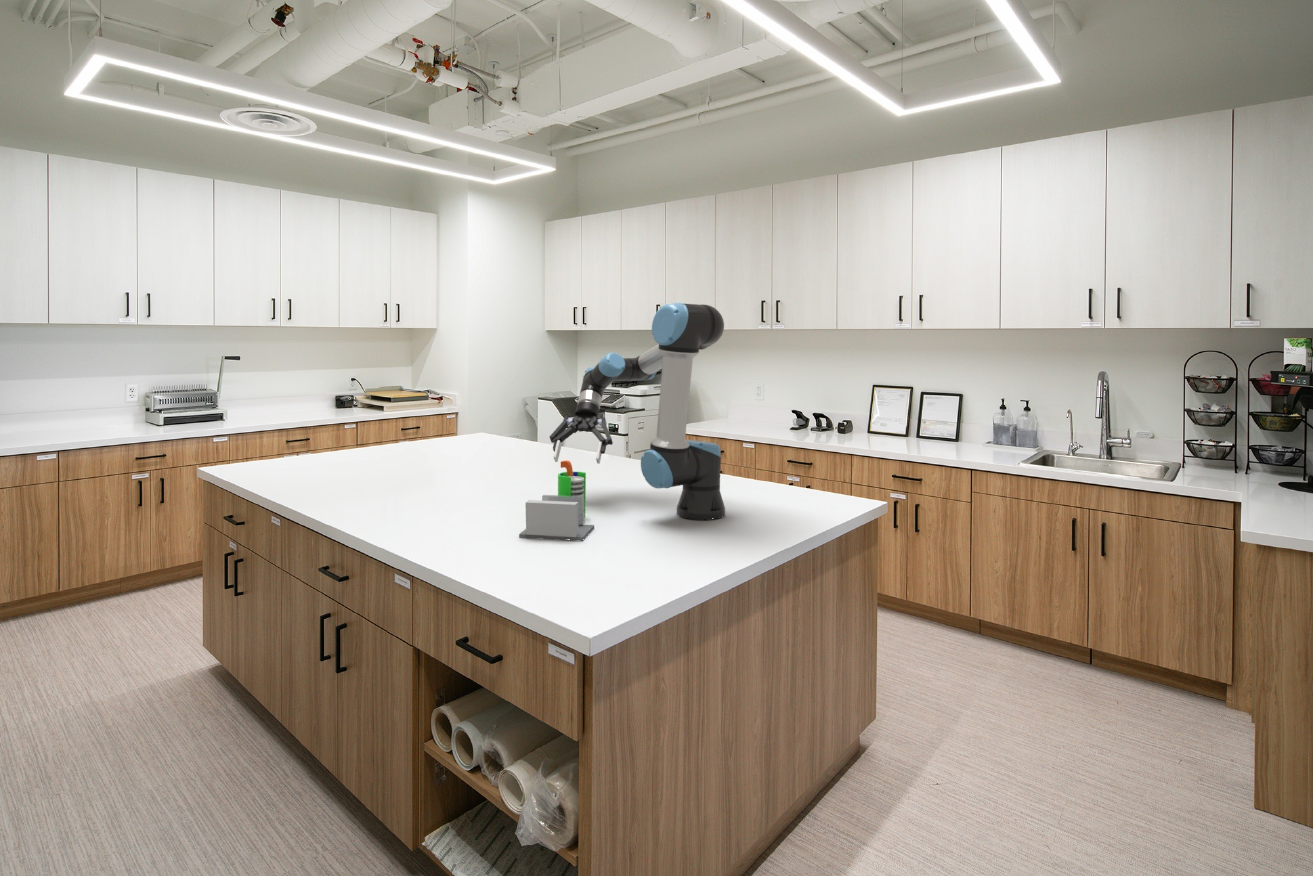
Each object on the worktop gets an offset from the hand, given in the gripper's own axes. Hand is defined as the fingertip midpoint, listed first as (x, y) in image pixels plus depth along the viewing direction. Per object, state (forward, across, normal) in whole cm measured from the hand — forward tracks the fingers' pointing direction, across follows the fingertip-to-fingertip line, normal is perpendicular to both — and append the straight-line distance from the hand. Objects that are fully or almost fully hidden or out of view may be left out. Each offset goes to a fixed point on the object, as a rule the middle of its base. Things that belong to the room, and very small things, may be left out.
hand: (576, 460), depth 219 cm
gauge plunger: (+24, +1, +3) cm, 24 cm away
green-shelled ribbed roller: (+18, -1, -6) cm, 19 cm away
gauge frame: (+28, -1, +4) cm, 28 cm away
